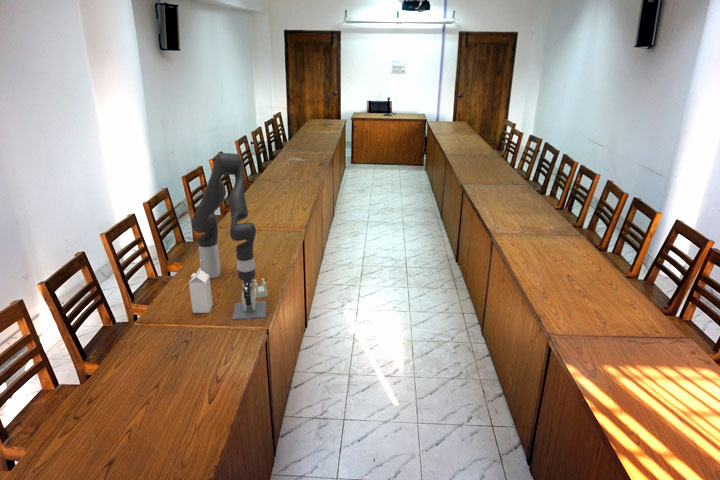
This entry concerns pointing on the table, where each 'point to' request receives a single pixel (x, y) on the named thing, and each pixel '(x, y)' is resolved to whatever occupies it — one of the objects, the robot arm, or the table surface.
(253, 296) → the cube with twin tabs
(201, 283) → the milk carton
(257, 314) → the mat
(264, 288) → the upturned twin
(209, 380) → the table surface
